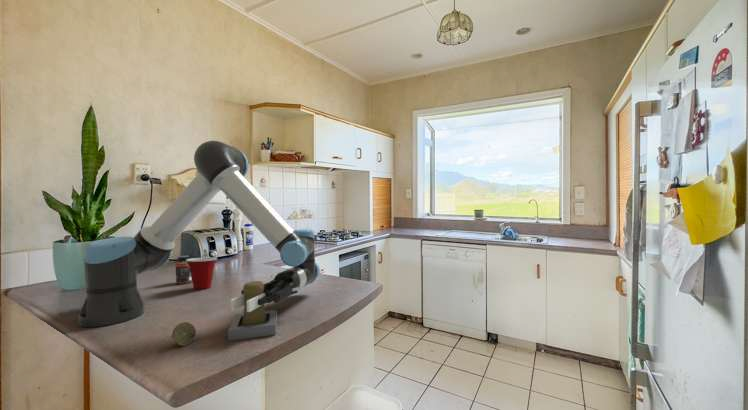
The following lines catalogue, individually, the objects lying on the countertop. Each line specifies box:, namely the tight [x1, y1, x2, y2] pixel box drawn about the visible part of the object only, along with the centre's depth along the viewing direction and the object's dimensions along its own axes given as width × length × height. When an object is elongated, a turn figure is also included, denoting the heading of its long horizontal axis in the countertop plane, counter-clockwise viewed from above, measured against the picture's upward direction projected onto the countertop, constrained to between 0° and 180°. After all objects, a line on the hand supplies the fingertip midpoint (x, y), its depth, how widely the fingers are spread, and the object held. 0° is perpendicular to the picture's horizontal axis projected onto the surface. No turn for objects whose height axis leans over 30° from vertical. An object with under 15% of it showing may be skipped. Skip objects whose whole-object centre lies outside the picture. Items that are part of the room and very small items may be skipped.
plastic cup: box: [186, 257, 218, 291], centre depth 122 cm, size 11×11×12 cm
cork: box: [242, 280, 267, 326], centre depth 82 cm, size 6×6×11 cm
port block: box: [227, 309, 278, 342], centre depth 82 cm, size 11×11×2 cm
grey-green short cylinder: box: [171, 321, 197, 347], centre depth 74 cm, size 4×5×5 cm
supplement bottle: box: [175, 255, 193, 285], centre depth 131 cm, size 6×6×11 cm
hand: (240, 305), depth 76 cm, fingers closed on cork, 4 cm apart
